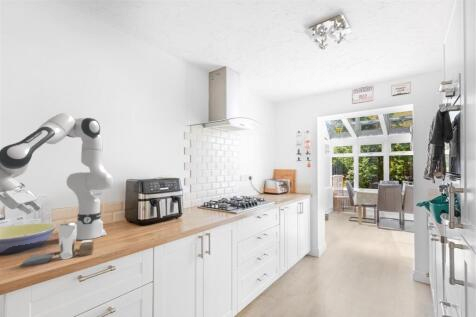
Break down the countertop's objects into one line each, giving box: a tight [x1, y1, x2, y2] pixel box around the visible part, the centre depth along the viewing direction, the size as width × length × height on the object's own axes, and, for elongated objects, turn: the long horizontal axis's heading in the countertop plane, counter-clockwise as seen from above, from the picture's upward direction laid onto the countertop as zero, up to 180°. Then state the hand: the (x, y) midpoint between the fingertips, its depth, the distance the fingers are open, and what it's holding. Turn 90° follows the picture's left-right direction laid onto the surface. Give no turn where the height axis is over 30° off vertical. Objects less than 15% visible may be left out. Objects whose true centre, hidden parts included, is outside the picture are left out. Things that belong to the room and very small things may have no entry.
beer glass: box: [57, 222, 77, 260], centre depth 108 cm, size 7×7×15 cm
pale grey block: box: [80, 239, 93, 244], centre depth 118 cm, size 6×4×4 cm, turn 23°
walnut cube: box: [78, 240, 95, 257], centre depth 112 cm, size 5×5×5 cm
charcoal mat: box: [19, 252, 56, 267], centre depth 104 cm, size 12×9×1 cm
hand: (35, 211), depth 103 cm, fingers open, 8 cm apart
